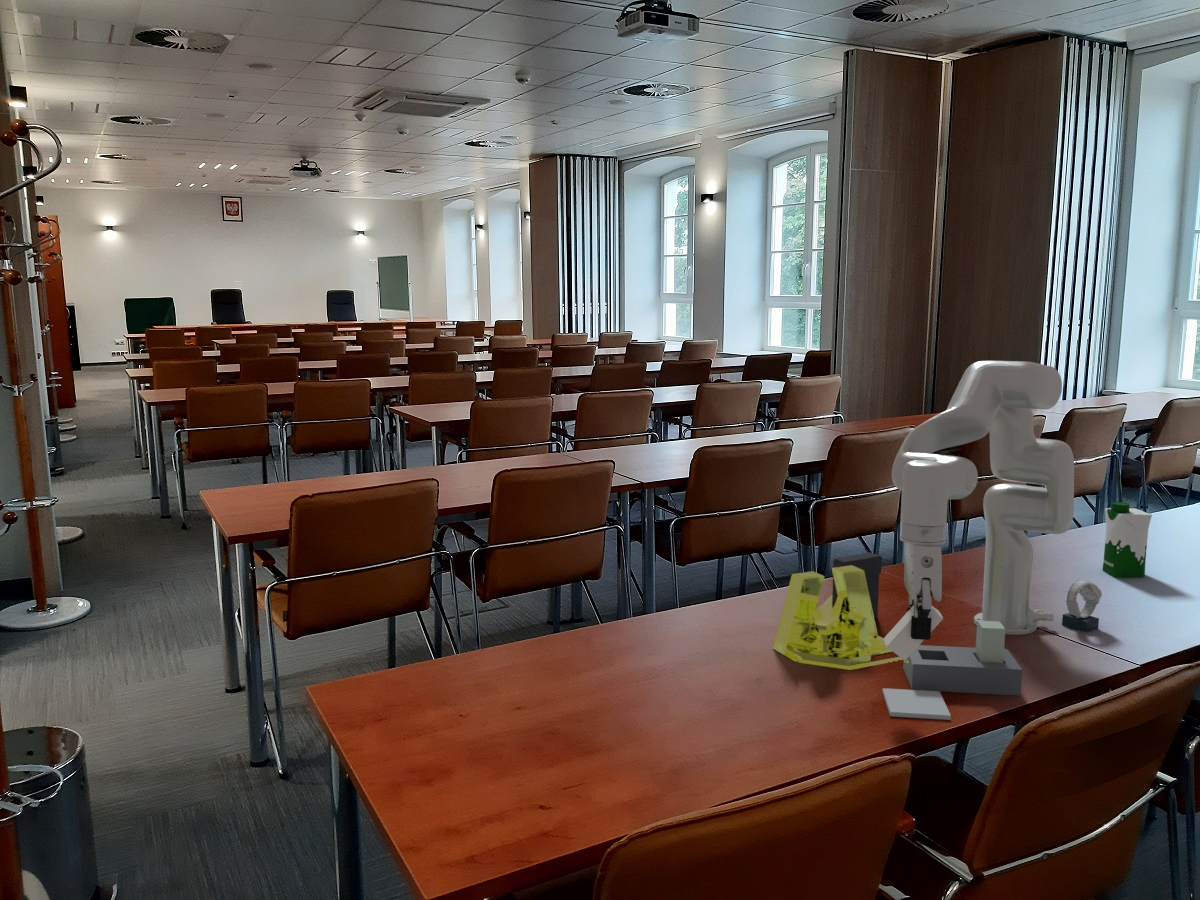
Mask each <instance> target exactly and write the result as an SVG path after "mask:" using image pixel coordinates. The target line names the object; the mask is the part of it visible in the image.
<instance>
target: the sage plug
mask: <svg viewBox="0 0 1200 900" xmlns="http://www.w3.org/2000/svg"><path fill="white" fill-rule="evenodd" d="M975 635H976V637H975V648H976V653H975V657H976V659H977V660H978V662H986V663H1003V660H1004V649H1005V641H1006V640H1005V639H1006V634H1005V628H1004V626H1003V625H1002V624H1001V623H1000V622H999V621H977V625H976V634H975Z"/></svg>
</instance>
